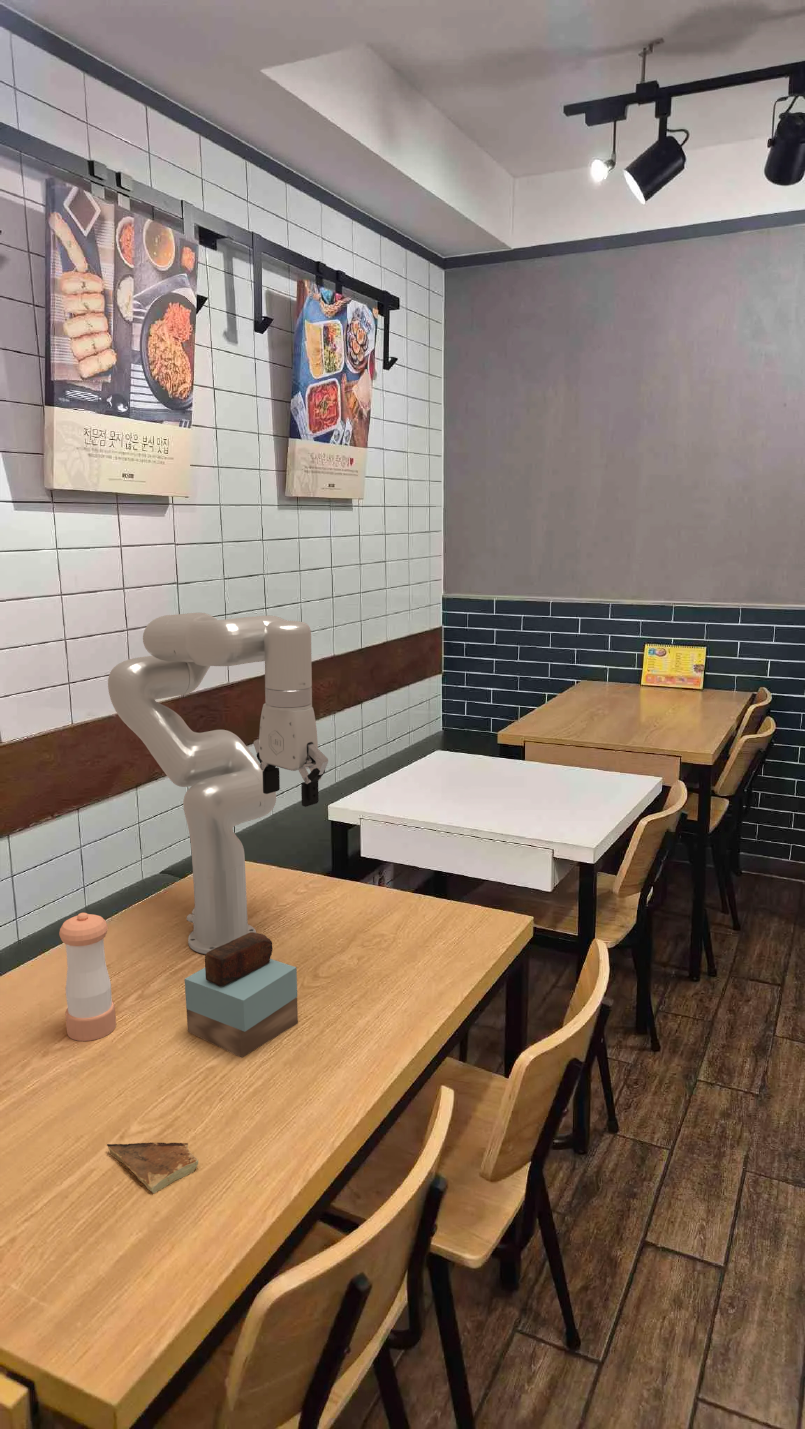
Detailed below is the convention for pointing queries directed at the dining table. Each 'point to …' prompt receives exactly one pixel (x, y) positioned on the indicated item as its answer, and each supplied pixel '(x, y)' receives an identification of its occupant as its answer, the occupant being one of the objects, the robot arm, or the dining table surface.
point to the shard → (156, 1162)
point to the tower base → (241, 1040)
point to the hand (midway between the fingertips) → (290, 798)
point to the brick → (237, 958)
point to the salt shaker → (87, 979)
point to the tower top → (243, 995)
